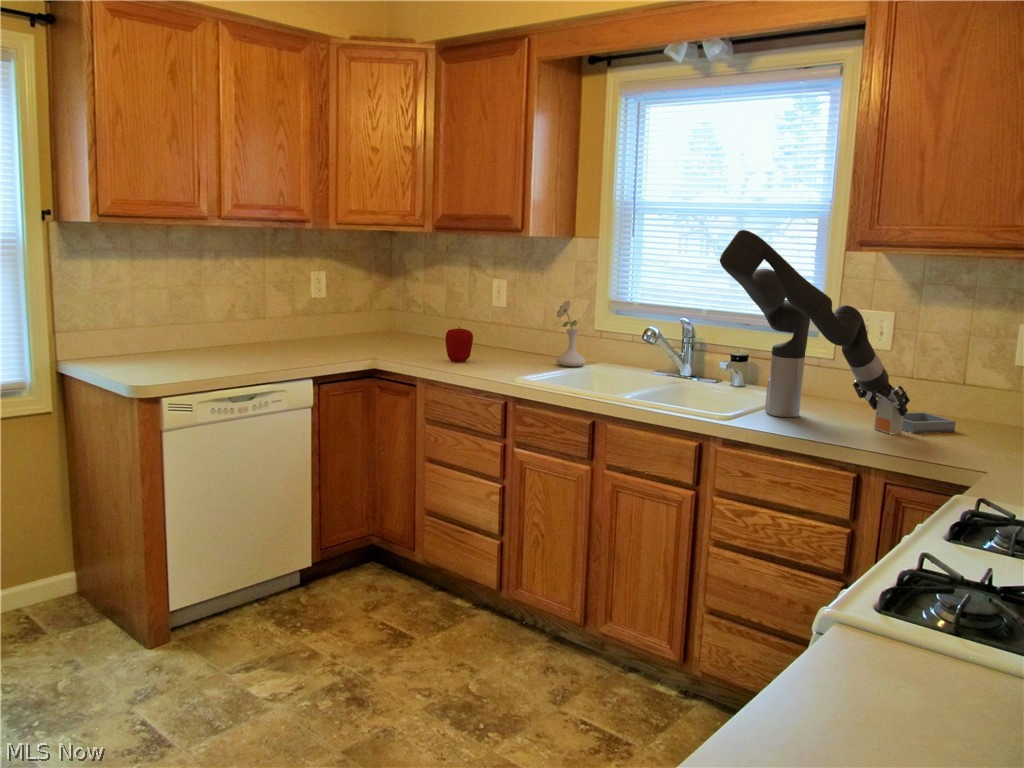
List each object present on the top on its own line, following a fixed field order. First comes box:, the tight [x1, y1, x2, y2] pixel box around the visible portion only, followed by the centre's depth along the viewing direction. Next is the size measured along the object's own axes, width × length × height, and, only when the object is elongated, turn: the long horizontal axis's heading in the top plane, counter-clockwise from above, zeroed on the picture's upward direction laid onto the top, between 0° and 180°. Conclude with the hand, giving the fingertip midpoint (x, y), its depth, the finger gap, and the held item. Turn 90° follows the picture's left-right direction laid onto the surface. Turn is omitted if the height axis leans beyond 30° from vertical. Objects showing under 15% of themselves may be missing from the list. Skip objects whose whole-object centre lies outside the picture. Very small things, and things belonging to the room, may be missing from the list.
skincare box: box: [873, 389, 908, 435], centre depth 238 cm, size 6×4×12 cm
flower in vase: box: [555, 299, 587, 368], centre depth 330 cm, size 13×11×25 cm
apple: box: [445, 326, 474, 364], centre depth 332 cm, size 10×10×14 cm
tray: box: [902, 411, 956, 434], centre depth 245 cm, size 12×14×3 cm
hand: (890, 410), depth 237 cm, fingers open, 8 cm apart
